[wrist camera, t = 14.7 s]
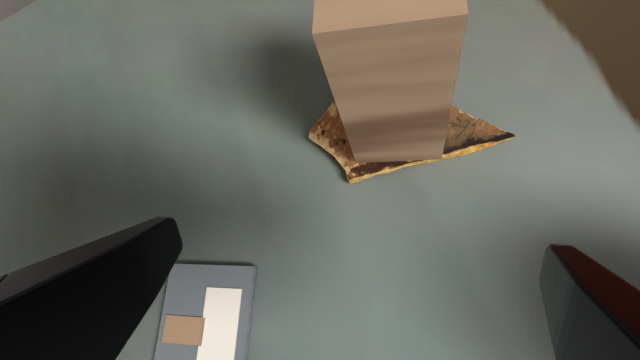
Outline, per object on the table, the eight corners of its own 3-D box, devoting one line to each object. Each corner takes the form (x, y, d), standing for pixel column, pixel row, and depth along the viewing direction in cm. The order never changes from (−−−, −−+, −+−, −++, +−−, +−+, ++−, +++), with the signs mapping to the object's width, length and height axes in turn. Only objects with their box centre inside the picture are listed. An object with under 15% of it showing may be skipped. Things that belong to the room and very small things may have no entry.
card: (241, 410, 21) (237, 412, 20) (152, 397, 22) (145, 399, 22) (256, 266, 23) (252, 265, 23) (175, 264, 25) (170, 263, 24)
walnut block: (441, 159, 21) (468, 14, 11) (356, 162, 22) (311, 34, 12) (436, 86, 23) (455, -94, 13) (357, 93, 24) (320, -68, 14)
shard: (510, 145, 23) (517, 133, 21) (440, 246, 22) (442, 241, 20) (367, 73, 27) (364, 57, 25) (304, 155, 26) (296, 145, 24)
